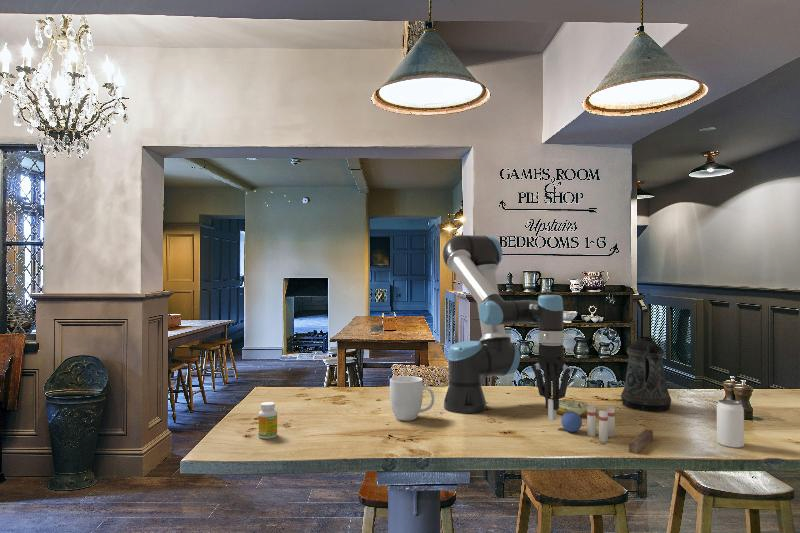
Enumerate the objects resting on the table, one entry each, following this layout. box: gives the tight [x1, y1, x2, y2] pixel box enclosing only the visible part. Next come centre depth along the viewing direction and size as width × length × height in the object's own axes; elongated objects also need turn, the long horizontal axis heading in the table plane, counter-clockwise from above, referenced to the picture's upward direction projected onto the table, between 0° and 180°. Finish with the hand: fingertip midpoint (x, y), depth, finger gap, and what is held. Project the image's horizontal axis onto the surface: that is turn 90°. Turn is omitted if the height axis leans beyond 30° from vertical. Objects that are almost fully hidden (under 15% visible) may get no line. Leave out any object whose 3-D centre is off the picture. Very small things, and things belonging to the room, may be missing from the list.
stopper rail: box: [628, 428, 654, 455], centre depth 146 cm, size 2×16×2 cm, turn 140°
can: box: [716, 399, 745, 449], centre depth 147 cm, size 6×6×12 cm
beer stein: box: [620, 336, 672, 413], centre depth 188 cm, size 16×19×25 cm
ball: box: [561, 411, 583, 433], centre depth 158 cm, size 6×6×6 cm
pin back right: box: [598, 409, 609, 443], centre depth 150 cm, size 2×2×8 cm
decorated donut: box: [556, 399, 590, 418], centre depth 179 cm, size 11×12×4 cm
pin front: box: [586, 405, 597, 437], centre depth 155 cm, size 2×2×8 cm
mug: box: [389, 375, 435, 422], centre depth 173 cm, size 15×11×13 cm
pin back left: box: [605, 405, 616, 438], centre depth 154 cm, size 2×2×8 cm
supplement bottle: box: [258, 401, 278, 440], centre depth 154 cm, size 5×5×10 cm
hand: (552, 419), depth 162 cm, fingers closed
